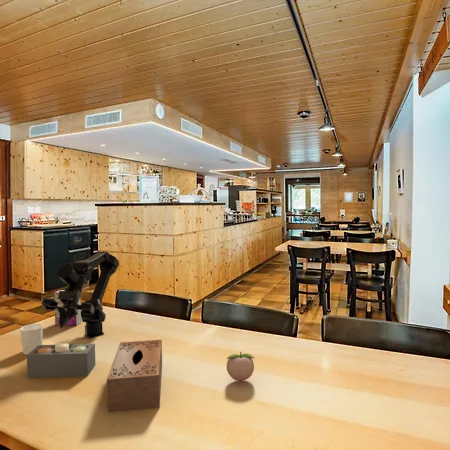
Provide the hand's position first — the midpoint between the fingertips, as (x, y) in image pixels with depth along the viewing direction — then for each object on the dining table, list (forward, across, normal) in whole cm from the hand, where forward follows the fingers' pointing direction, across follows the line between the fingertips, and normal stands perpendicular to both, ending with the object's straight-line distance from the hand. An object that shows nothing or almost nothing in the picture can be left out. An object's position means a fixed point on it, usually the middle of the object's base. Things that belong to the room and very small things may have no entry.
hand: (60, 327), depth 127 cm
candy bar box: (-13, -11, +39) cm, 42 cm away
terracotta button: (+13, -1, -2) cm, 13 cm away
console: (+15, +6, 0) cm, 16 cm away
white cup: (+6, -13, +15) cm, 21 cm away
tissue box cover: (+19, +34, -11) cm, 41 cm away
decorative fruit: (+15, +67, -14) cm, 70 cm away
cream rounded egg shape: (+11, +5, -3) cm, 13 cm away
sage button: (+11, +11, -3) cm, 16 cm away
